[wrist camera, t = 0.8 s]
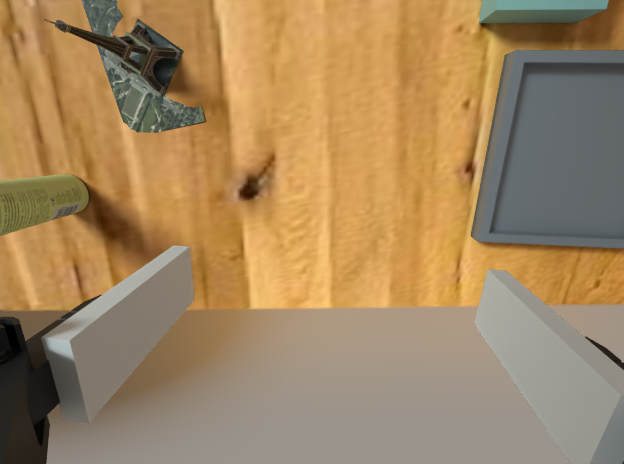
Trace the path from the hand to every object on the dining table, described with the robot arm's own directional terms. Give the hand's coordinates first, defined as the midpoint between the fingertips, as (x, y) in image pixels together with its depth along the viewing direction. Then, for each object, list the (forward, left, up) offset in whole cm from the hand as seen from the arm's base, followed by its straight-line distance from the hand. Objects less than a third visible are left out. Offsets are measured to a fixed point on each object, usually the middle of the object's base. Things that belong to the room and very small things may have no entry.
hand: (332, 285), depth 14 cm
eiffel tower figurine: (-14, -21, -25) cm, 35 cm away
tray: (-5, +25, -24) cm, 35 cm away
